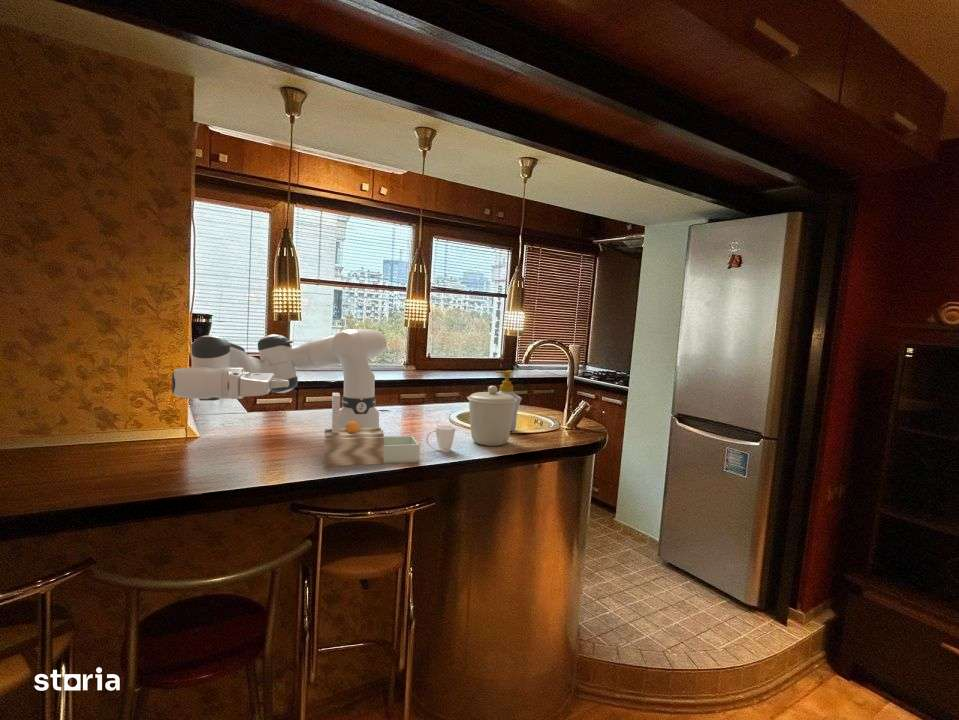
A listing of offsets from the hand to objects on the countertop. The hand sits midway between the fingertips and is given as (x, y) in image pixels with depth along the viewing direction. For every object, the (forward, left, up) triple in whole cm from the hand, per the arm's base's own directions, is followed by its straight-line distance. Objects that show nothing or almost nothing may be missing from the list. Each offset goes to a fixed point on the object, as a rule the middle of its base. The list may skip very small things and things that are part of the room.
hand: (288, 383), depth 143 cm
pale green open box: (+3, +33, -24) cm, 40 cm away
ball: (+1, +18, -14) cm, 23 cm away
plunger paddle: (+1, +13, -15) cm, 20 cm away
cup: (-2, +48, -24) cm, 54 cm away
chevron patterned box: (+1, +19, -23) cm, 30 cm away
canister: (-8, +69, -24) cm, 74 cm away
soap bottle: (-25, +83, -24) cm, 90 cm away
